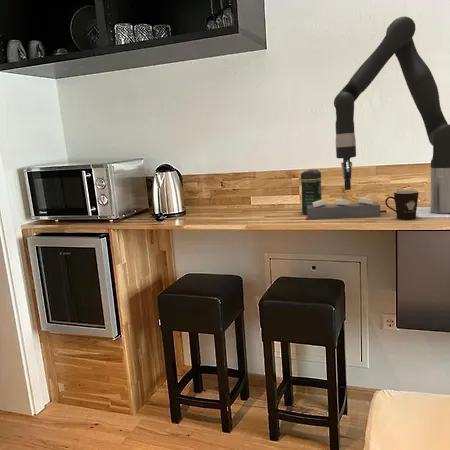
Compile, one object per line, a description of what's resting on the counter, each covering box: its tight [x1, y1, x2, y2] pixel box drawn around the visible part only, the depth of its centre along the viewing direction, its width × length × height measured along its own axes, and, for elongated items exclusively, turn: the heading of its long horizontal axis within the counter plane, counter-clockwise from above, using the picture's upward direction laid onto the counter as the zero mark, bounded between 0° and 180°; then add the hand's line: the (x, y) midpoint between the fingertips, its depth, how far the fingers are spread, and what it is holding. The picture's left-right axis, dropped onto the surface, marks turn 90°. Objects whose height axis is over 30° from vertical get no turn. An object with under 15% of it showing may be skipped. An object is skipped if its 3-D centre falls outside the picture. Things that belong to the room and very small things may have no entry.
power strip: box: [306, 201, 388, 221], centre depth 194 cm, size 31×8×5 cm, turn 80°
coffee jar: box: [300, 169, 323, 215], centre depth 205 cm, size 10×8×19 cm
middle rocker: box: [335, 198, 351, 205], centre depth 192 cm, size 5×4×2 cm
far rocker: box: [313, 198, 327, 207], centre depth 193 cm, size 5×4×2 cm
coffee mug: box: [385, 189, 420, 221], centre depth 180 cm, size 12×9×10 cm
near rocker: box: [358, 196, 375, 205], centre depth 190 cm, size 5×4×2 cm
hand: (347, 189), depth 190 cm, fingers closed
